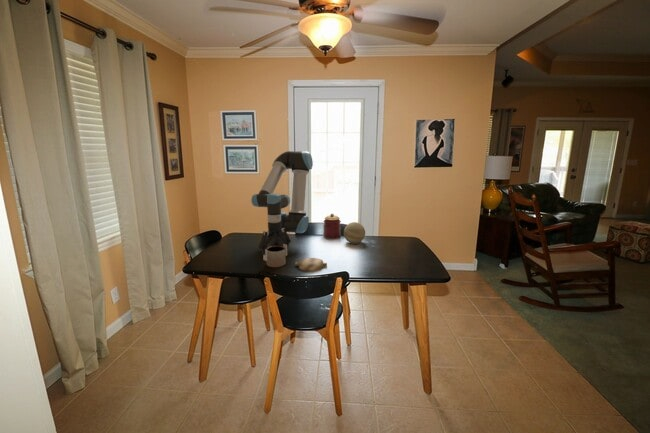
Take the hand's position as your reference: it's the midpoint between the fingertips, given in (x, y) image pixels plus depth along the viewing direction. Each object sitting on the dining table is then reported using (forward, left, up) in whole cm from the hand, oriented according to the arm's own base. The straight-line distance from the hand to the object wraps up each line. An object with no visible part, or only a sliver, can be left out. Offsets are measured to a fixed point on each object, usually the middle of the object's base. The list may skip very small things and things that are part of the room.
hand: (275, 257), depth 176 cm
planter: (0, 0, -5) cm, 5 cm away
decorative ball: (+3, +63, -5) cm, 64 cm away
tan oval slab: (+16, +13, -4) cm, 21 cm away
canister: (-20, +63, -5) cm, 67 cm away
